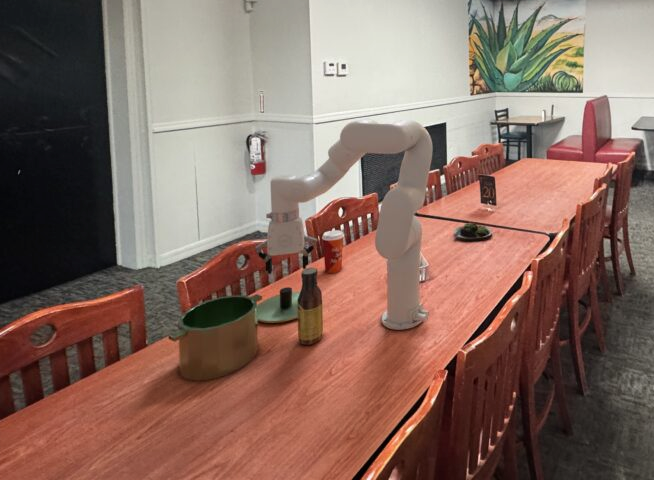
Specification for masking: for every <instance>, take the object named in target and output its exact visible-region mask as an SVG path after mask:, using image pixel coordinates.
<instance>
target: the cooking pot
mask: <svg viewBox="0 0 654 480" xmlns="http://www.w3.org/2000/svg"><path fill="white" fill-rule="evenodd" d="M262 300H263V296H262V295H260V294H257V293H256V294H254V295H251V296H248V295H237V294H234V295H227V296H219V297H215V298H212V299H208V300H205V301H203V302H201V303H197V304H196V305H193V306H192V307H190V308H189V309H188V310H186V311H185V312H183V313H182V314H181V316H180V317H179V319H177V325H178V326H177V327H178V329H177V331H174V332H172V333H170V334H168V340H170V341H171V342H177V341H178V367H179V373H180V375H181V377H182V378H184V379H187V380H189V381H208V380H213V379H217V378H221V377H224V376H227V375H230V374H232V373H234V372H236V371H238V370H239V369H241V368H243V367H245V366H246V365H247V364H249V363H250V362H251V361H252V360H253V358H255V356H256V355H257V352H258V347H259V344H258V343H259V341H258V340H259V335H258V333H259V332H258V320H257V306H258V302H260V301H262Z"/></svg>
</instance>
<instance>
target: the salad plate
mask: <svg viewBox="0 0 654 480" xmlns="http://www.w3.org/2000/svg"><path fill="white" fill-rule="evenodd" d="M492 235H493V232H492V231H491V228H490V227H489V226H487V225H485V224H484V225H483V224H477V223H476V222H473V223H471V222H466V223H464V225H462V226H457V227H455V229H454V234H453V238H456V239H457V240H459V241H462V242H481V241H486V240H489V239H490V238H491V237H492Z"/></svg>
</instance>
